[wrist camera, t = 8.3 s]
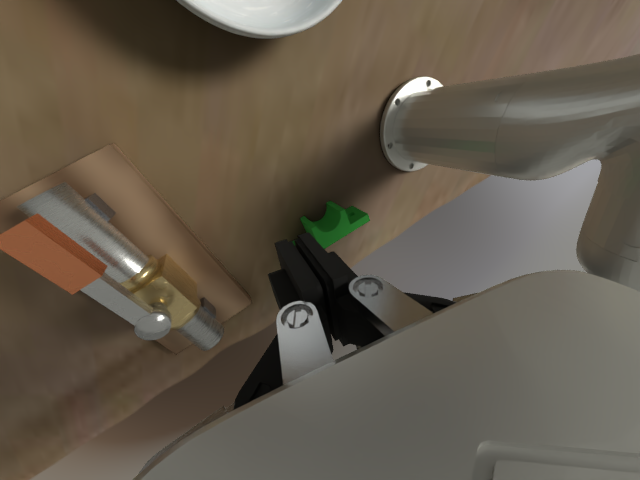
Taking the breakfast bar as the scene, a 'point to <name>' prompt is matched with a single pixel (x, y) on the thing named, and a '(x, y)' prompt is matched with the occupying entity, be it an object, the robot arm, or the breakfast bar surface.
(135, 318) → the valve lever
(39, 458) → the breakfast bar surface
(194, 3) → the serving bowl
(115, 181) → the valve stand
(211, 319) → the valve and pipe
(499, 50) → the breakfast bar surface
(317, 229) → the pipe clamp
